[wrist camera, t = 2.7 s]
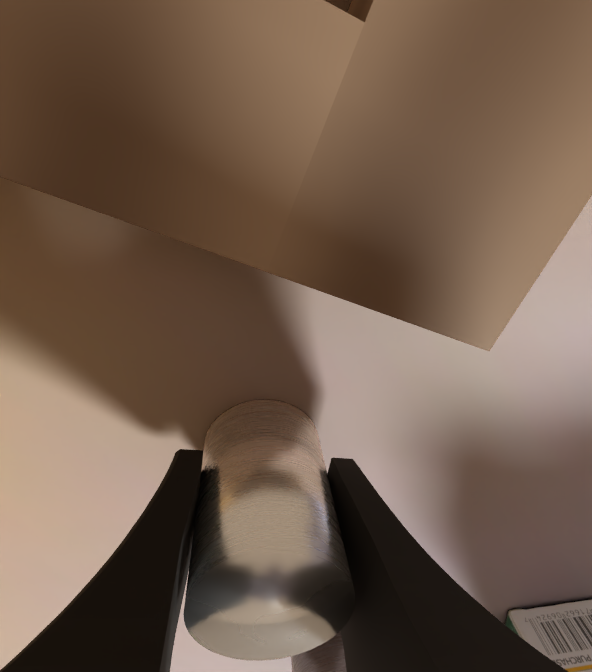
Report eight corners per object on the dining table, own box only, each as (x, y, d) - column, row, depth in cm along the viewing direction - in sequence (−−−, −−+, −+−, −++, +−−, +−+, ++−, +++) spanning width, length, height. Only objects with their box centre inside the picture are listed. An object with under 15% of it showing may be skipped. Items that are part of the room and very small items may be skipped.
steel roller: (337, 417, 13) (384, 569, 9) (293, 498, 15) (315, 667, 10) (225, 386, 12) (215, 538, 8) (189, 476, 14) (163, 650, 9)
